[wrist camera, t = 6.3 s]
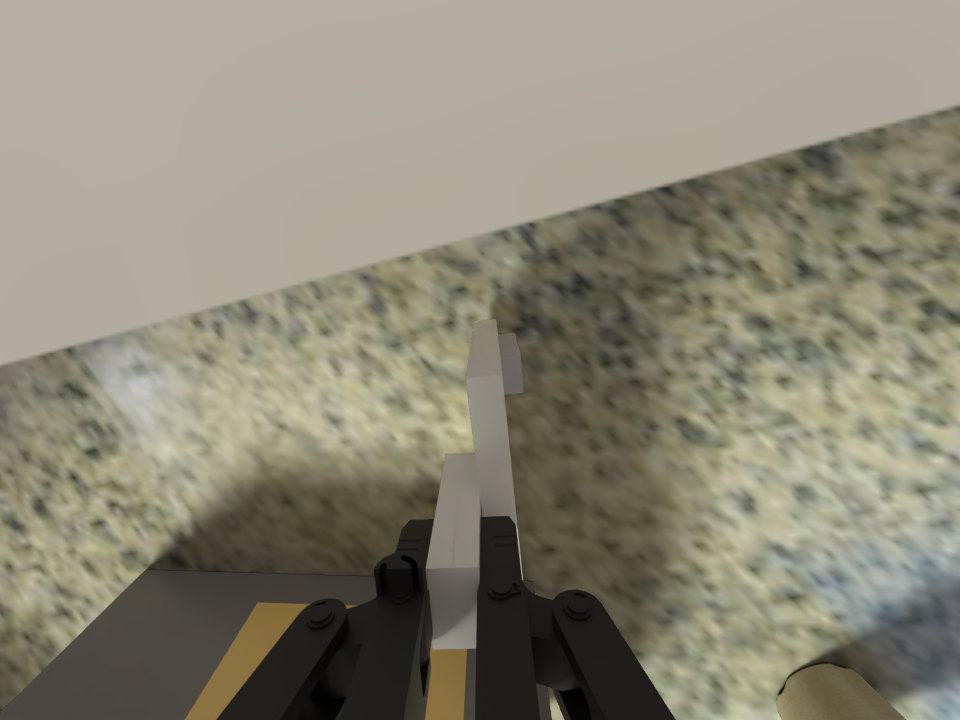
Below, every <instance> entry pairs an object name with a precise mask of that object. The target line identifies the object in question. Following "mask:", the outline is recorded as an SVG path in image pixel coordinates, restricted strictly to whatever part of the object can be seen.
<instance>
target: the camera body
mask: <svg viewBox="0 0 960 720" xmlns="http://www.w3.org/2000/svg"><path fill="white" fill-rule="evenodd" d="M523 583H524V584H525V586H526V587H527V588H528V589H529V590H530V591H531V592H532V593H534V594H535V590H534V582H533V581H523ZM376 596H377V591H376V583H375V577H372V576H338V575H305V574H272V573H239V572H205V571H172V570H145V571H144V572H143V573H142V574H141V575H140V576H139V577H138V578H137V579H136V580H135V581H134V582H133V583H132V584H131V585H130V586H129V587H128V588H127V589H126V590H124V591H123V592H122V593H121V594H120V595H119V596H118V597H117V598H116V599H115V600H114V601H113V602H112V603H111V604H110V605H109V606H108V607H107V608H106V609H105V610H104V611H103V612H102V613H101V614H100V615H99V616H98V617H97V618H96V619H95V620H94V621H93V622H92V623H91V624H90V625H89V626H88V627H87V628H86V629H85V630H84V631H83V632H82V633H81V634H80V635H79V636H78V637H77V638H76V639H75V640H73V641H72V642H71V643H70V644H69V645H68V646H67V647H66V648H65V649H64V650H63V651H62V652H61V653H60V654H59V655H58V656H57V657H56V658H55V659H54V660H53V661H52V662H51V663H50V664H49V665H48V666H47V667H46V668H45V669H44V670H43V671H42V672H41V673H40V674H39V675H38V676H37V677H36V678H35V679H34V680H33V681H32V682H31V683H30V684H29V685H28V686H27V687H26V688H25V689H24V690H23V691H21V692H20V693H19V694H18V695H17V696H16V697H15V698H14V699H13V700H12V701H11V702H10V703H9V704H8V705H7V706H6V707H5V708H4V709H3V710H2V711H1V712H0V720H216V719H217V718H218V716H219V715H220V714H221V713H222V711H223V710H224V709H225V708H226V706H227V705H228V704H229V702H230V701H231V700H232V699H233V697H234V696H235V695H236V693H237V692H238V691H239V690H240V688H241V687H242V686H243V685H244V683H245V682H246V681H247V679H248V678H249V677H250V676H251V674H252V673H253V672H254V670H255V669H256V668H257V667H258V665H259V664H260V663H261V662H262V660H263V659H264V658H265V656H266V655H267V654H268V653H269V651H270V650H271V649H272V647H273V646H274V645H275V644H276V642H277V641H278V640H279V639H280V637H281V636H282V635H283V633H284V632H285V631H286V630H287V628H288V627H289V626H290V625H291V623H292V622H293V621H294V619H295V618H296V617H297V616H298V614H299V613H300V612H301V611H302V610H303V609H304V608H305V607H306V606H308V605H310V604H312V603H313V602H315V601H318V600H322V599H325V598H335V599H338V600H340V601H342V602H343V603H344V604H345V606H346V608H347V609H348V608H351V607H355V606H358V605H361V604H364V603H367V602H369V601H371V600H372V599H374V598H376ZM430 659H431V675H430V683H429V691H428V699H427V707H426V715H425V720H475V684H476V649H438V650H433V646H432V642H431V649H430ZM536 687H537V695H538V704H539V712H540V720H552V717H551V710H550V702H549V695H548V687H547V686H544V685H541V684H537V683H536Z"/></svg>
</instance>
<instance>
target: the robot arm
mask: <svg viewBox="0 0 960 720" xmlns="http://www.w3.org/2000/svg"><path fill="white" fill-rule="evenodd" d="M374 575H375V583H376V591H377V596H376V598H374V599H372V600H371V601H369V602H367V603H364V604H361V605H358V606H355V607H351V608H348V609H347V608H346V606H345V604H344V603H343V602H342V601H340V600H338V599H335V598H325V599H322V600H318V601H315V602H313V603H312V604H310V605H308V606H306V607H305V608H304V609H303V610H302V611H301V612H300V613H299V614H298V616H297V617H296V618H295V619H294V621H293V622H292V623H291V625H290V626H289V627H288V628H287V630H286V631H285V632H284V633H283V635H282V636H281V637H280V639H279V640H278V641H277V642H276V644H275V645H274V646H273V647H272V649H271V650H270V651H269V653H268V654H267V655H266V656H265V658H264V659H263V660H262V662H261V663H260V664H259V665H258V667H257V668H256V669H255V670H254V672H253V673H252V674H251V676H250V677H249V678H248V679H247V681H246V682H245V683H244V685H243V686H242V687H241V688H240V690H239V691H238V692H237V693H236V695H235V696H234V697H233V699H232V700H231V701H230V702H229V704H228V705H227V706H226V708H225V709H224V710H223V711H222V713H221V714H220V715H219V716H218V718H217V719H216V720H425V715H426V707H427V699H428V691H429V683H430V675H431V659H430V649H431V642H432V646H433V650H438V649H476V684H475V720H540V712H539V704H538V695H537V687H536V683H537V684H541V685H544V686H547V687H550V688H553V691H554V695H555V697H556V700H557V702H558V705H559V707H560V710H561V712H562V715H563V717H564V720H675V718H674V716H673V715H672V713H671V712H670V710H669V709H668V707H667V706H666V704H665V702H664V701H663V699H662V698H661V696H660V695H659V693H658V691H657V690H656V688H655V687H654V685H653V684H652V682H651V680H650V679H649V677H648V676H647V674H646V673H645V671H644V670H643V668H642V666H641V665H640V663H639V662H638V660H637V659H636V657H635V655H634V654H633V652H632V651H631V649H630V648H629V646H628V645H627V643H626V641H625V640H624V638H623V637H622V635H621V634H620V632H619V630H618V629H617V627H616V626H615V624H614V623H613V621H612V619H611V618H610V616H609V615H608V613H607V612H606V610H605V609H604V607H603V605H602V604H601V603H600V602H599V600H598V599H597V598H596V597H595V596H593V595H591V594H589V593H588V592H585V591H581V590H567V591H564V592H562V593H559V594H558V596H557V597H556V598H555V599H554V600H551V599H546V598H543V597H540V596H537V595H536V594H534V593H532V592H531V591H530V590H529V589H528V588H527V587H526V586H525V584H524V583H523V579H522V574H521V565H520V556H519V547H518V538H517V530H516V524H515V523H514V522H513V520H512V519H511V518H510V517H509V516H488V517H483V516H482V507H481V499H480V487H479V483H478V475H477V467H476V459H475V453H461V454H446V455H445V461H444V467H443V472H442V478H441V484H440V490H439V495H438V501H437V507H436V512H435V518H434V519H427V520H410V521H409V522H408V523H407V524H406V526H405V527H404V528H403V529H402V531H401V534H400V538H399V542H398V545H397V549H396V552H395V554H391V555H389V556H387V557H384V558H383V559H382V560H381V561H380V562H378V563H377V565H376V567H375V568H374Z"/></svg>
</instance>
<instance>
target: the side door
mask: <svg viewBox="0 0 960 720" xmlns="http://www.w3.org/2000/svg"><path fill="white" fill-rule="evenodd" d="M465 379H466V387H467V395H468V403H469V411H470V419H471V427H472V435H473V443H474V451H475V459H476V467H477V475H478V483H479V487H480V499H481V507H482V516H483V517H488V516H509V517H510V518H511V519H512V520H513V522H514V523H515V524H516V530H517V538H518V547H519V556H520V565H521V555H520V546H519V536H518V526H517V516H516V506H515V496H514V486H513V476H512V466H511V456H510V446H509V436H508V426H507V417H506V407H505V397H504V395H508V394H519V393H524V385H523V374H522V363H521V353H520V350H519V346H518V343H517V339H516V336H515V333H507V334H498V331H497V321H496V319H491V320H481V321H474V325H473V332H472V338H471V345H470V352H469V358H468V365H467V372H466V378H465ZM521 574H522V565H521ZM522 579H523V575H522Z"/></svg>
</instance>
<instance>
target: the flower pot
mask: <svg viewBox="0 0 960 720" xmlns="http://www.w3.org/2000/svg"><path fill="white" fill-rule="evenodd" d="M777 709H778V712H779V715H780V717H781V719H782V720H906V719H905V718H904V717H903V716H902V715H901V714H900V713H899V712H898V711H897V710H895V709H894V708H893V707H892V706H891V705H890V704H889V703H888V702H887V701H886V700H885V699H884V698H883V697H882V696H881V695H880V694H879V693H878V692H876V691H875V690H874V689H873V688H872V687H871V686H870V685H869V684H868V683H867V682H866V681H865V680H864V679H863V678H862V677H861V676H860V675H859V674H858V673H857V672H855V671H854V670H852V669H850V668H847V669H844V668H841V667H838V666H835V665H832V664H819V665H814V666H811V667H808V668H805V669H803V670H800V671H799V672H797V673H795V674H794V675H792V676H791V677H790V678H788V679H787V681H786V685H785V688H784V690H783V692H782V694H780V695H778V697H777Z"/></svg>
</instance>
